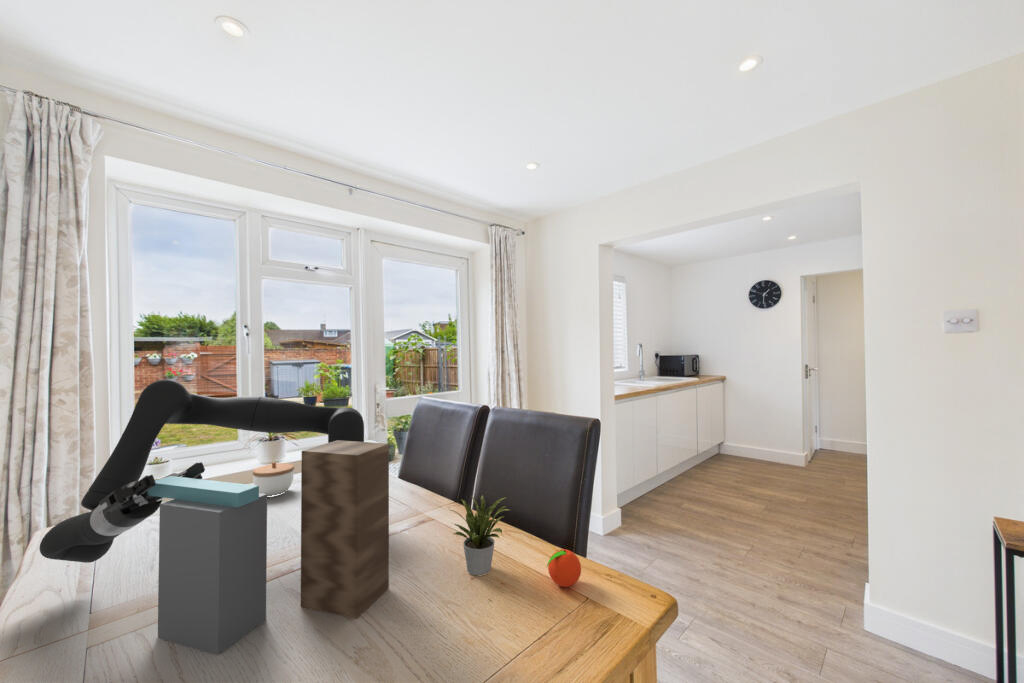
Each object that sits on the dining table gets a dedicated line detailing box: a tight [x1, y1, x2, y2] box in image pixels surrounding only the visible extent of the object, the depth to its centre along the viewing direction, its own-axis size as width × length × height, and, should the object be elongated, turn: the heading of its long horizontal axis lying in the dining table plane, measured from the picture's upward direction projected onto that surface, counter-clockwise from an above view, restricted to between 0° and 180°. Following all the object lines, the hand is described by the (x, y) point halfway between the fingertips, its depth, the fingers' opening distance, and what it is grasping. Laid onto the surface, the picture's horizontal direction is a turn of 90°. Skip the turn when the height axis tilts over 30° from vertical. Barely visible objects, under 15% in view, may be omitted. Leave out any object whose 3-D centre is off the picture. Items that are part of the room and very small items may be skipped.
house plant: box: [449, 494, 510, 576], centre depth 92 cm, size 14×14×16 cm
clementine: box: [546, 548, 582, 588], centre depth 85 cm, size 8×7×7 cm
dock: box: [157, 493, 268, 656], centre depth 73 cm, size 14×9×23 cm, turn 73°
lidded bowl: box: [252, 461, 295, 496], centre depth 142 cm, size 13×13×11 cm
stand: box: [300, 440, 390, 620], centre depth 82 cm, size 13×10×30 cm
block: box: [148, 476, 259, 507], centre depth 74 cm, size 22×4×2 cm, turn 73°
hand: (178, 472), depth 76 cm, fingers open, 8 cm apart
